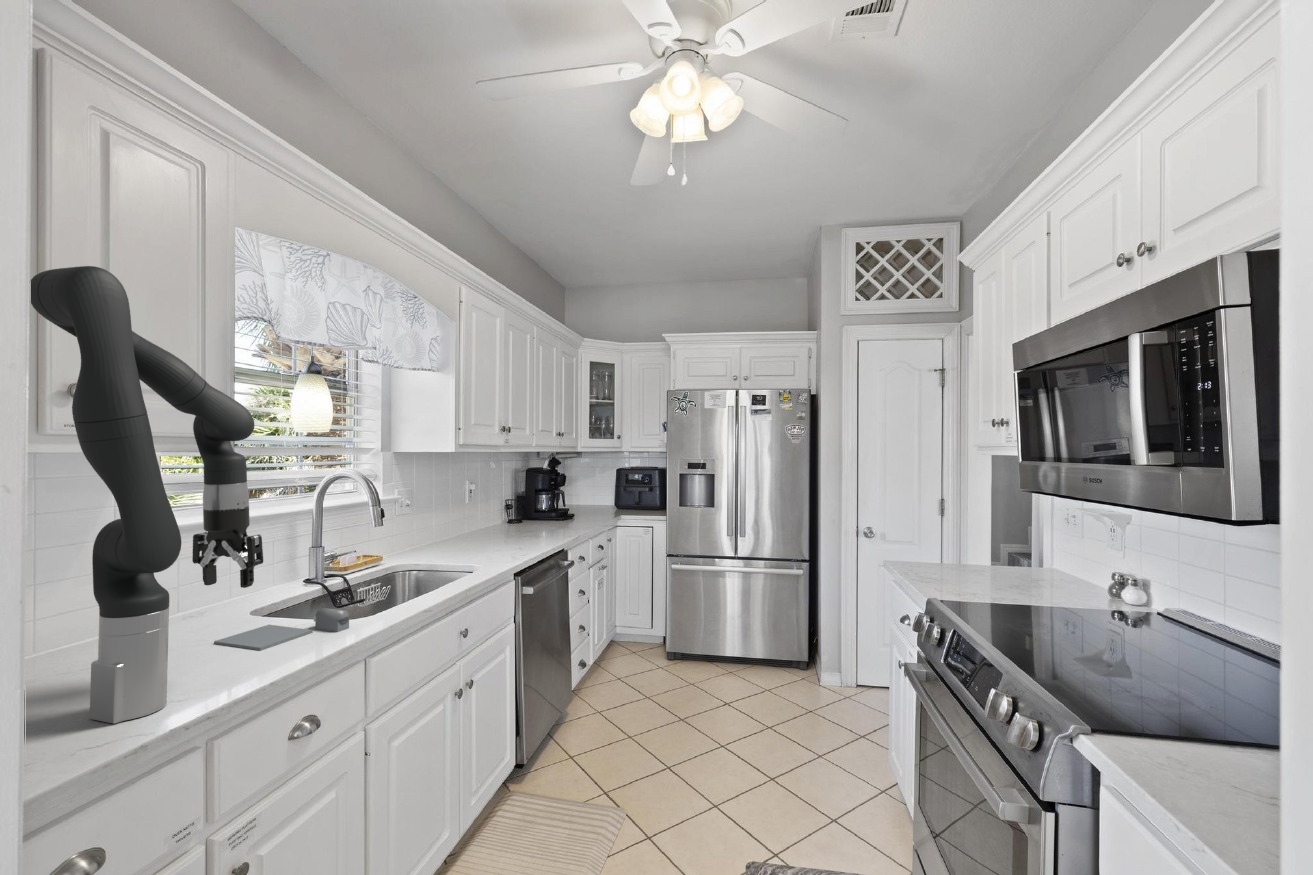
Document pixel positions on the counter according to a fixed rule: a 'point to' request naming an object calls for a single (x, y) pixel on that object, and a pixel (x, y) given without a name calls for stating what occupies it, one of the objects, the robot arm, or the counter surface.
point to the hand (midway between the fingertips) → (228, 585)
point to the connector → (331, 620)
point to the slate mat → (263, 637)
